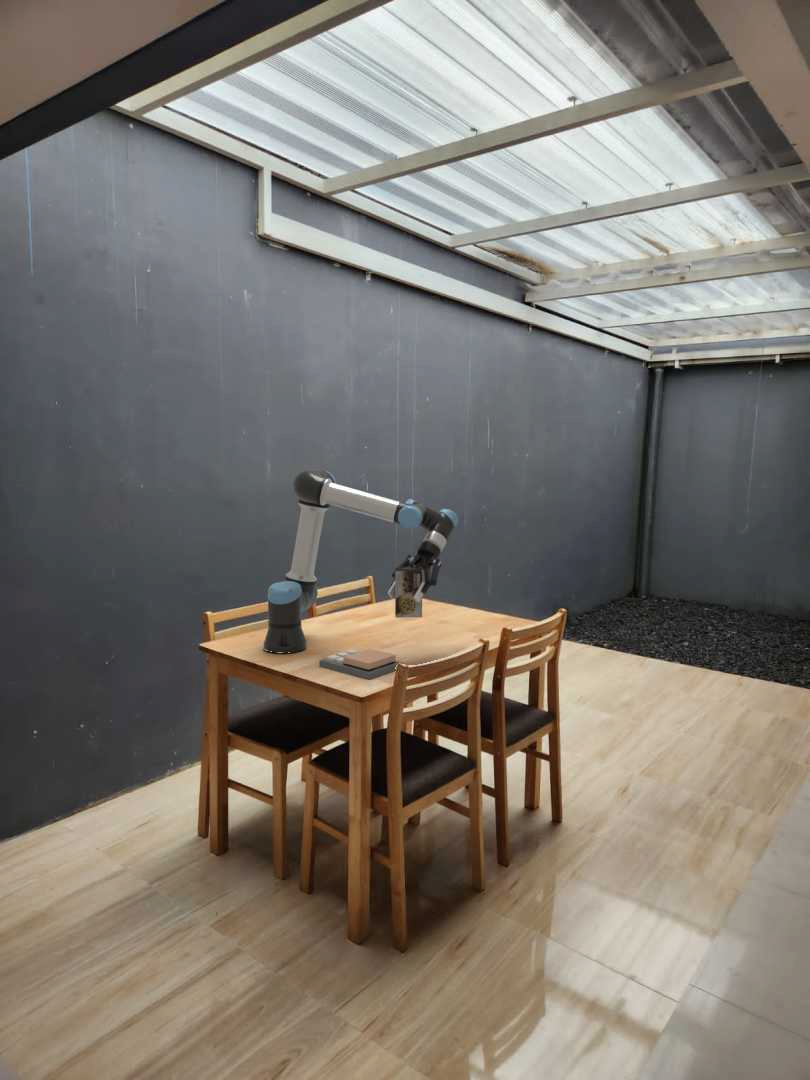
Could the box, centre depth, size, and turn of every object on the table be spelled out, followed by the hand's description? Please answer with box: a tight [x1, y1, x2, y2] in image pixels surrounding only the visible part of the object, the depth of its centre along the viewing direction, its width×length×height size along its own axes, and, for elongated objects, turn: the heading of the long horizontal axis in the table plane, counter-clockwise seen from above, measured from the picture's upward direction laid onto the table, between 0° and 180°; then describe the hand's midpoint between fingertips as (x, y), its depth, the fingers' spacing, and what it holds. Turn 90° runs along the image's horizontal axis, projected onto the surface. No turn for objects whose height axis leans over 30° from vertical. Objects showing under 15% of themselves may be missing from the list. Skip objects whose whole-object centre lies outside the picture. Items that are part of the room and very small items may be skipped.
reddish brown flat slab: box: [343, 648, 397, 670], centre depth 223 cm, size 11×13×2 cm
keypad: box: [318, 649, 403, 681], centre depth 226 cm, size 22×16×3 cm
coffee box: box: [394, 567, 423, 619], centre depth 233 cm, size 9×6×16 cm
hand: (403, 597), depth 231 cm, fingers closed on coffee box, 10 cm apart
